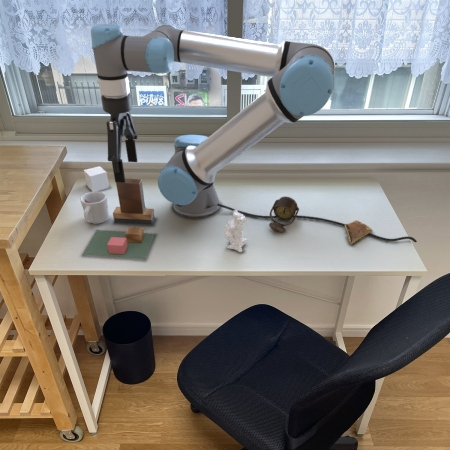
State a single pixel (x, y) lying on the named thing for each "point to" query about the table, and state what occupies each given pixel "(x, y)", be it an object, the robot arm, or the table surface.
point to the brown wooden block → (132, 204)
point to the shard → (357, 231)
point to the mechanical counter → (283, 213)
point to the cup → (95, 207)
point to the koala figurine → (235, 231)
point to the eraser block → (117, 245)
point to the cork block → (135, 234)
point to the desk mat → (102, 237)
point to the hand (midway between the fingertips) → (126, 171)
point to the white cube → (96, 178)
